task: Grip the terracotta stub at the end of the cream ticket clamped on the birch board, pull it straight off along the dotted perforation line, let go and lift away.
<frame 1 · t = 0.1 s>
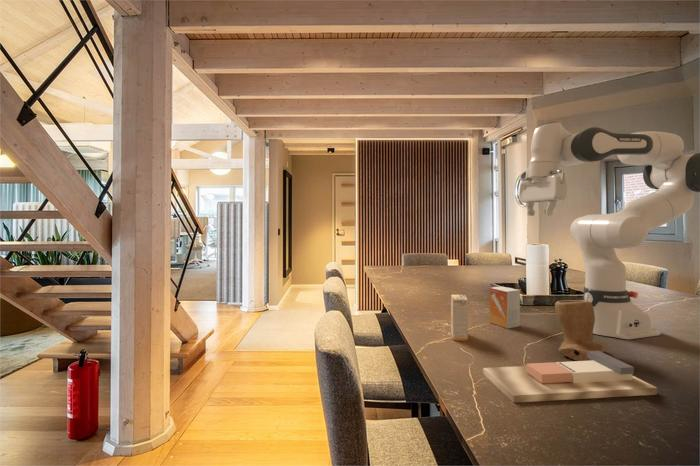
hand: (539, 215, 118), 39 cm above the table, tool pointing down, fingers open, 8 cm apart
brown suede boot: (577, 354, 101), on the table
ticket: (592, 367, 83), on the holder board, point 3 cm above the table
supplement box: (459, 337, 117), on the table
holder board: (564, 383, 83), on the table
small box: (504, 325, 130), on the table
ticket stub: (548, 372, 83), point 3 cm above the table, slide at 0.0 cm
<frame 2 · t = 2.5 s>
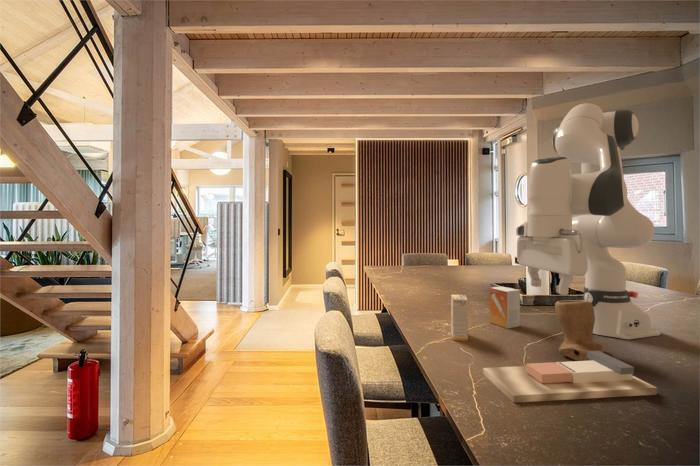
hand: (548, 290, 82), 22 cm above the table, tool pointing down, fingers open, 8 cm apart
nothing on the table moved.
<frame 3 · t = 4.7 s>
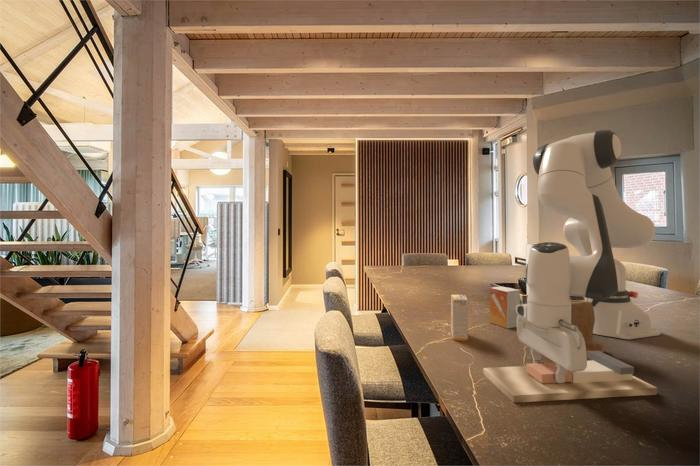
hand: (548, 374, 83), 2 cm above the table, tool pointing down, fingers closed on ticket stub, 6 cm apart
ticket stub: (548, 372, 83), point 3 cm above the table, slide at 0.0 cm, touching gripper
everything else where it was.
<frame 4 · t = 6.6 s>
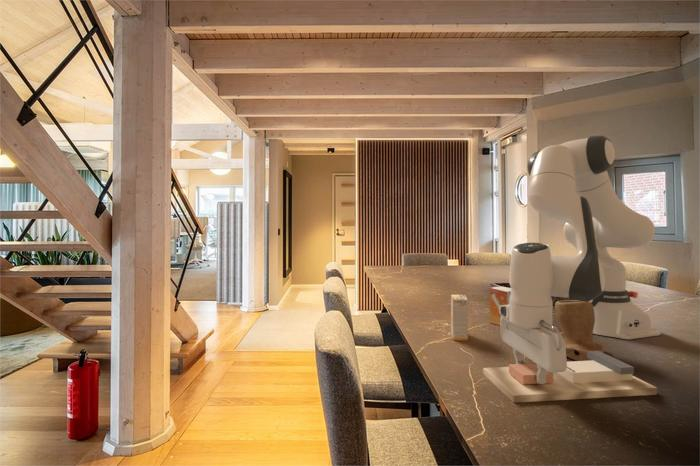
hand: (530, 375, 82), 2 cm above the table, tool pointing down, fingers closed on ticket stub, 6 cm apart
ticket stub: (530, 373, 82), point 3 cm above the table, slide at 4.3 cm, touching gripper
everything else where it was.
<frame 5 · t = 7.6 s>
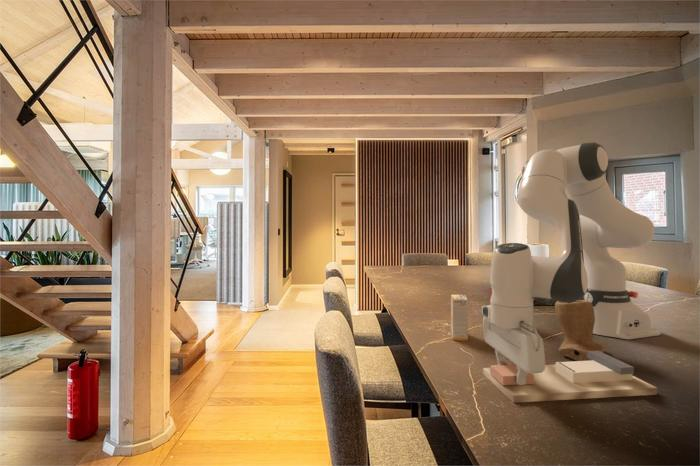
hand: (511, 376, 82), 2 cm above the table, tool pointing down, fingers closed on ticket stub, 6 cm apart
ticket stub: (511, 374, 82), point 3 cm above the table, slide at 8.8 cm, touching gripper
everything else where it was.
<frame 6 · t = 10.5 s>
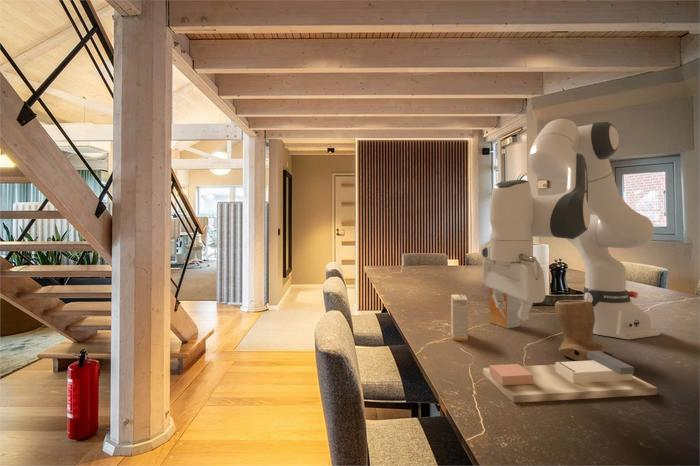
hand: (511, 313, 81), 17 cm above the table, tool pointing down, fingers open, 8 cm apart
ticket stub: (510, 374, 82), point 3 cm above the table, slide at 9.0 cm
everything else where it was.
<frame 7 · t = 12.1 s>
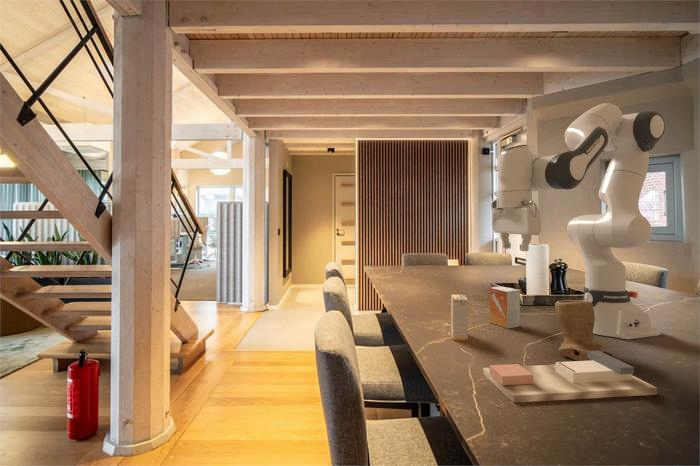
hand: (515, 249, 105), 29 cm above the table, tool pointing down, fingers open, 8 cm apart
nothing on the table moved.
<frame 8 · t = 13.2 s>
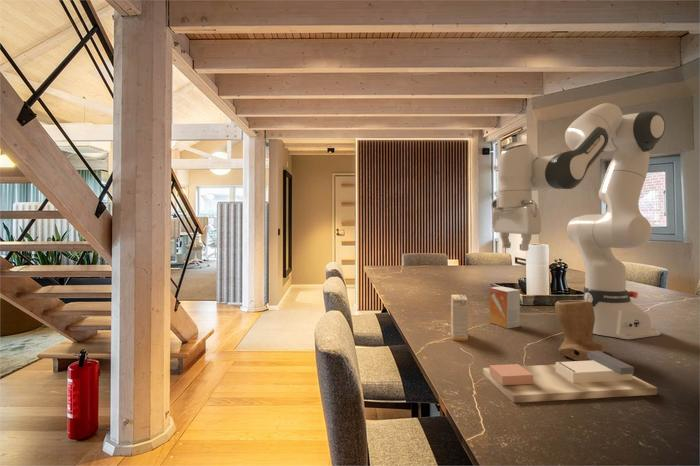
hand: (514, 249, 105), 29 cm above the table, tool pointing down, fingers open, 8 cm apart
nothing on the table moved.
at the end: ticket stub slide at 9.0 cm; the gripper is holding nothing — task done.
